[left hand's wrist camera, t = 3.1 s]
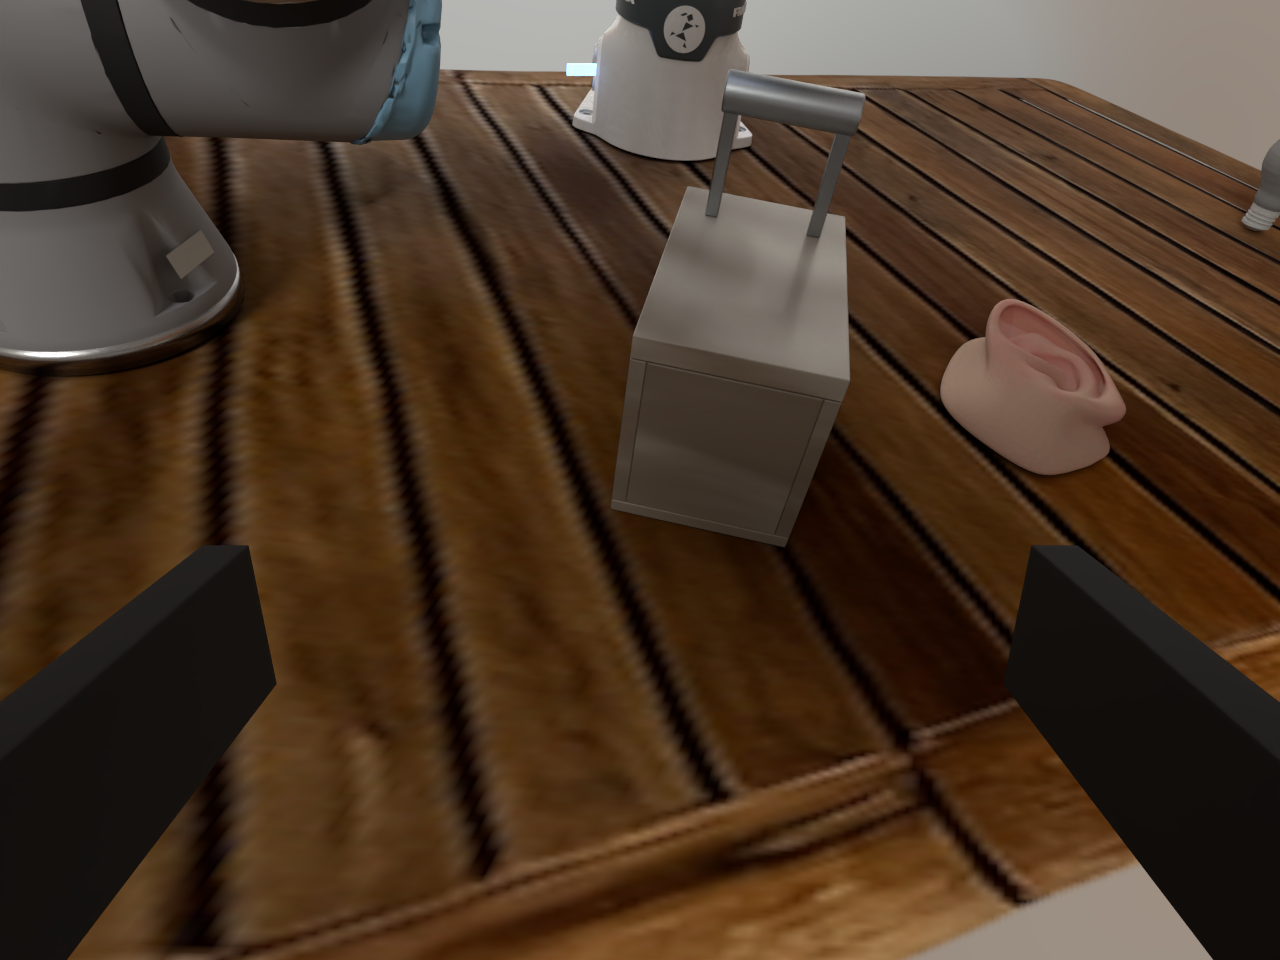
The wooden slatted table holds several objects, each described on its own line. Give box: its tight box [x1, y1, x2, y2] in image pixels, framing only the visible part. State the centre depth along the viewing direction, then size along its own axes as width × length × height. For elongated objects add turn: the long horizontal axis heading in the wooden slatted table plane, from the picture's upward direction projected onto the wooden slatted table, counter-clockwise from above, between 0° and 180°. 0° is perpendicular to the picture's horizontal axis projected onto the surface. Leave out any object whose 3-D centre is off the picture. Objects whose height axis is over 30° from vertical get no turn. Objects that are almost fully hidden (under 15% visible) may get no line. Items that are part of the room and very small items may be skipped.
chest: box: [611, 358, 841, 547], centre depth 40 cm, size 16×9×9 cm, turn 169°
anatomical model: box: [940, 299, 1126, 475], centre depth 48 cm, size 13×4×12 cm
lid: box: [630, 69, 865, 402], centre depth 34 cm, size 16×9×8 cm, turn 169°
